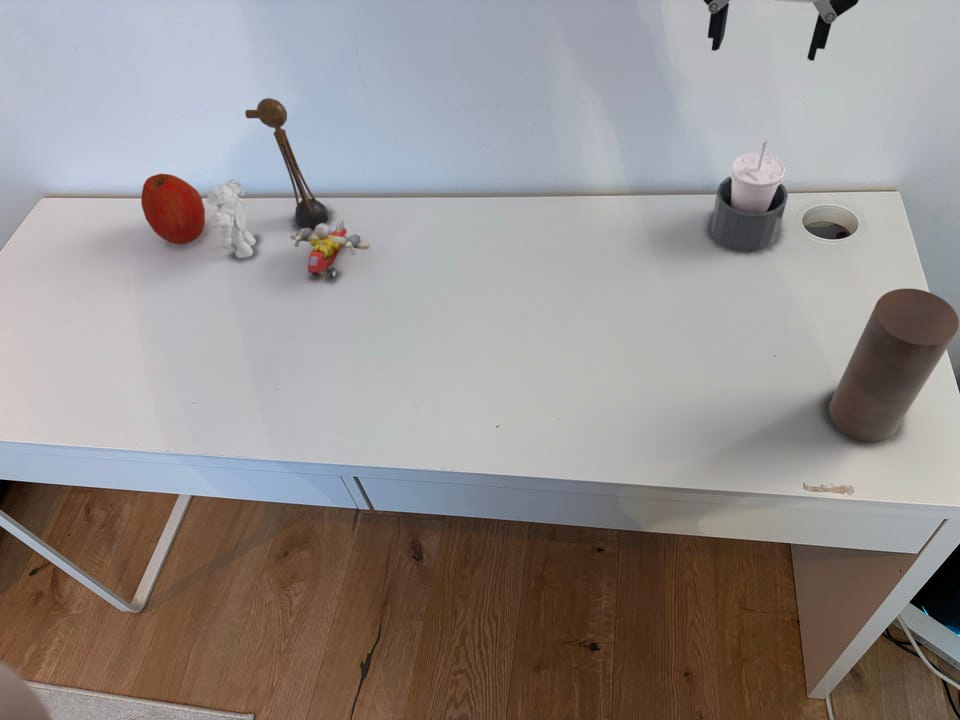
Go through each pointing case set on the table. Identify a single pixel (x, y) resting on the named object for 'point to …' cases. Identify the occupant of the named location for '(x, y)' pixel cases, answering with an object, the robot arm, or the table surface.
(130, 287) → the table surface
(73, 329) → the table surface
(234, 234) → the hat wearing toy figure
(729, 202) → the grey cup holder
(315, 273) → the toy airplane
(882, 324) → the stand
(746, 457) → the table surface
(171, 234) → the red oval fruit
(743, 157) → the smoothie
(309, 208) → the wooden tabletop sculpture
